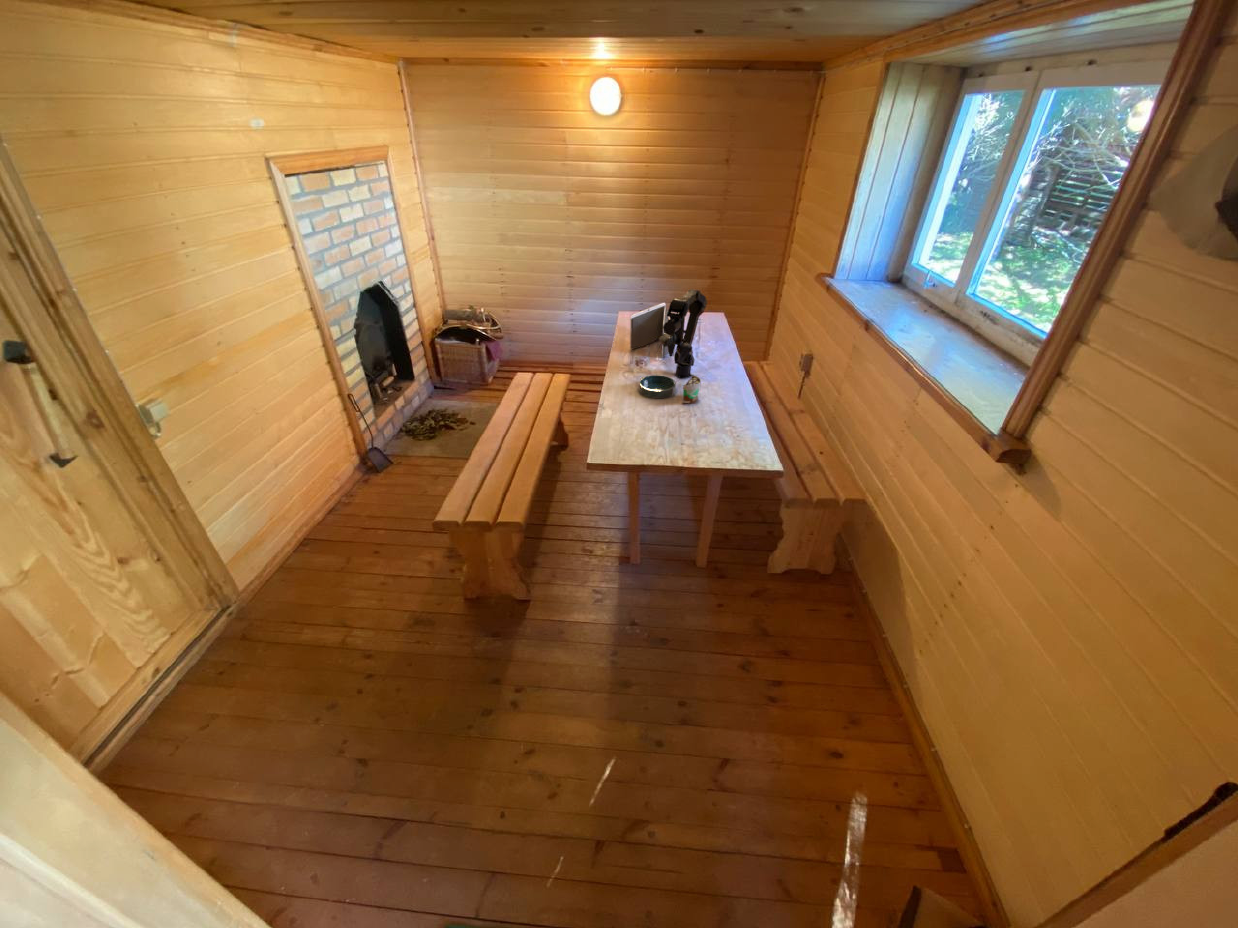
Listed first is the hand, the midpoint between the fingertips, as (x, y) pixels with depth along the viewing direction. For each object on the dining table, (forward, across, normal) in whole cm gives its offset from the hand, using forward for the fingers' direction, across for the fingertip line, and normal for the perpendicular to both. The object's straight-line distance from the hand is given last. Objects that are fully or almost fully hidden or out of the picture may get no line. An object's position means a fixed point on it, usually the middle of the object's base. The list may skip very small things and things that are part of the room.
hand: (675, 360), depth 239 cm
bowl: (+13, +2, -10) cm, 17 cm away
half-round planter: (+13, +18, 0) cm, 22 cm away
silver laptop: (+13, -49, +12) cm, 52 cm away
